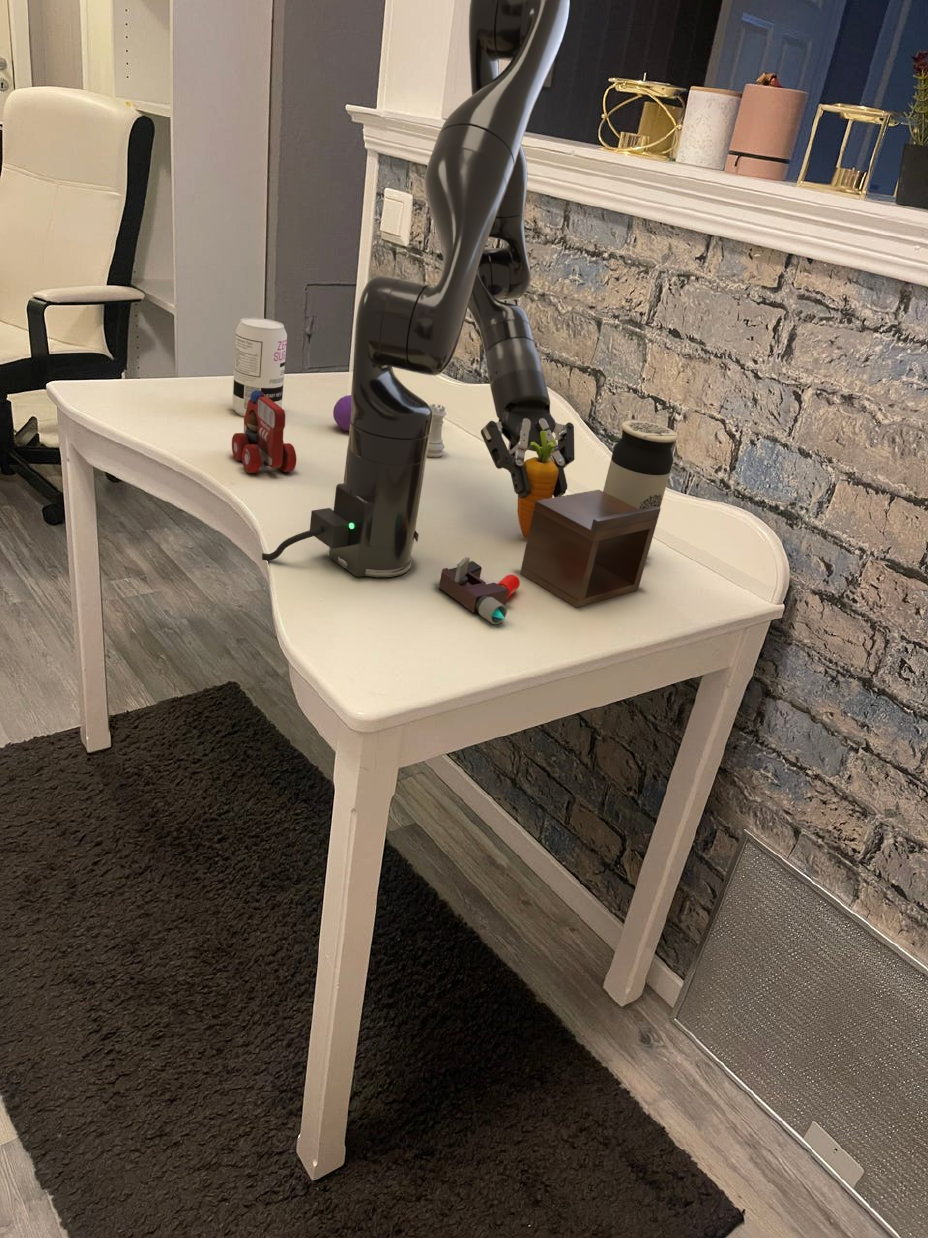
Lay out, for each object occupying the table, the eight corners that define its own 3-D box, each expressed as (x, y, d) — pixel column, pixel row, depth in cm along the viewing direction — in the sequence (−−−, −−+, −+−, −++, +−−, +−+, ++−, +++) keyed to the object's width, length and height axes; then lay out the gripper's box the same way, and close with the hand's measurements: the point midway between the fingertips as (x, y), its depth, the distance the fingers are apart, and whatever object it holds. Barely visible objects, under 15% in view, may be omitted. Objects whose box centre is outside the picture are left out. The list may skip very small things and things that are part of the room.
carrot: (541, 548, 128) (564, 443, 121) (505, 540, 129) (526, 435, 122) (545, 535, 133) (568, 433, 125) (511, 527, 133) (531, 425, 126)
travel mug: (579, 541, 133) (609, 418, 124) (627, 541, 136) (659, 420, 127) (606, 566, 126) (639, 438, 118) (655, 566, 129) (691, 440, 121)
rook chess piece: (447, 458, 155) (455, 411, 151) (422, 457, 153) (429, 410, 150) (438, 449, 159) (445, 402, 155) (413, 448, 157) (420, 401, 153)
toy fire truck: (270, 449, 145) (274, 382, 140) (299, 479, 136) (305, 409, 131) (225, 450, 141) (228, 382, 136) (253, 481, 132) (257, 409, 127)
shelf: (576, 607, 114) (598, 521, 108) (519, 573, 120) (537, 489, 115) (638, 589, 121) (661, 508, 116) (581, 558, 128) (601, 479, 122)
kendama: (444, 409, 166) (350, 405, 153) (433, 438, 169) (340, 437, 156) (425, 392, 169) (332, 387, 156) (415, 422, 172) (323, 420, 159)
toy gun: (492, 631, 105) (499, 593, 103) (427, 585, 112) (433, 548, 110) (553, 615, 111) (561, 579, 109) (487, 572, 118) (494, 537, 116)
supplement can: (229, 403, 162) (233, 314, 155) (277, 407, 164) (284, 319, 157) (234, 418, 155) (239, 326, 148) (284, 421, 158) (291, 331, 151)
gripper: (483, 364, 123) (510, 485, 119) (574, 368, 129) (602, 483, 126) (459, 391, 129) (483, 507, 126) (547, 395, 136) (572, 505, 132)
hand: (542, 495), depth 126 cm, fingers closed on carrot, 5 cm apart
